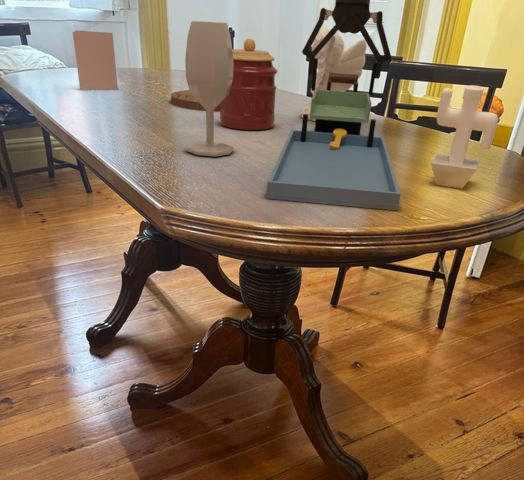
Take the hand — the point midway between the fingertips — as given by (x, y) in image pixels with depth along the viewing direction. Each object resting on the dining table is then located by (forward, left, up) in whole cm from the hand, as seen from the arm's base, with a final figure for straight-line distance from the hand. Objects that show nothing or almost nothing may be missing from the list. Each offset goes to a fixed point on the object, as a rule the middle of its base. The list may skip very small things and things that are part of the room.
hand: (341, 92), depth 122 cm
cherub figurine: (+7, -9, -8) cm, 13 cm away
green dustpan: (-3, +10, -3) cm, 11 cm away
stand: (-5, +16, -8) cm, 18 cm away
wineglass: (+11, +43, -8) cm, 45 cm away
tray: (-14, +40, -8) cm, 43 cm away
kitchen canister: (+18, +14, -8) cm, 24 cm away
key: (-8, +24, -6) cm, 26 cm away
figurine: (-33, +36, -8) cm, 49 cm away
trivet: (+40, -7, -8) cm, 41 cm away
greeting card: (+80, -4, -8) cm, 80 cm away
